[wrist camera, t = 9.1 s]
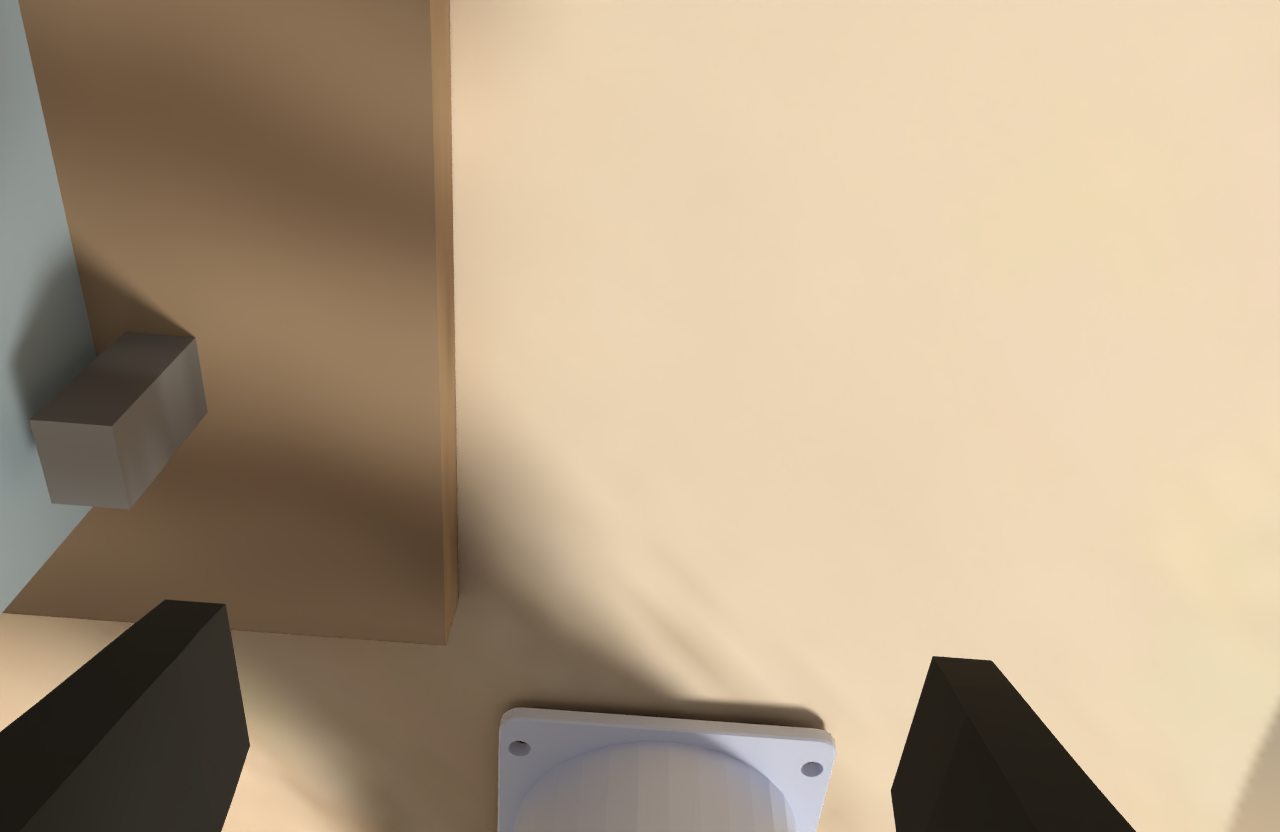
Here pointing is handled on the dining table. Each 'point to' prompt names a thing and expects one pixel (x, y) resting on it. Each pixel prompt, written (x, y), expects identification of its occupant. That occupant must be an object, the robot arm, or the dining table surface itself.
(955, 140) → the dining table surface
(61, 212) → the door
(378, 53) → the plinth
